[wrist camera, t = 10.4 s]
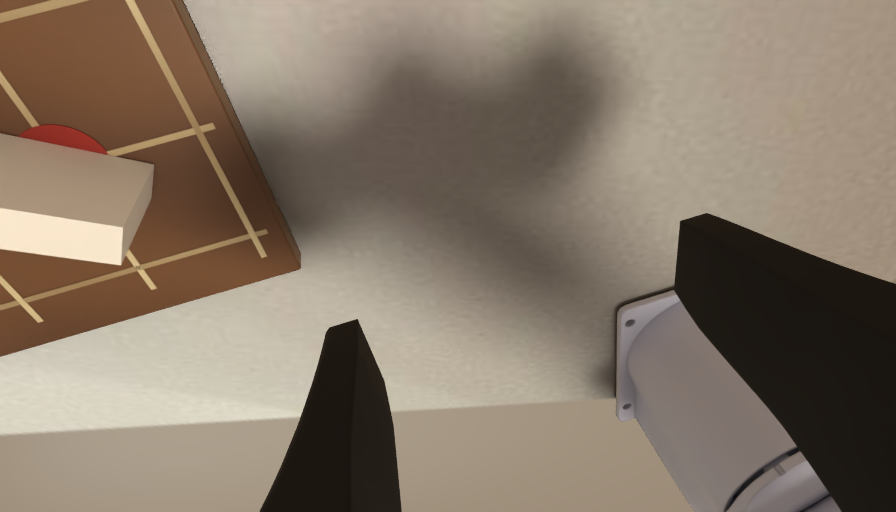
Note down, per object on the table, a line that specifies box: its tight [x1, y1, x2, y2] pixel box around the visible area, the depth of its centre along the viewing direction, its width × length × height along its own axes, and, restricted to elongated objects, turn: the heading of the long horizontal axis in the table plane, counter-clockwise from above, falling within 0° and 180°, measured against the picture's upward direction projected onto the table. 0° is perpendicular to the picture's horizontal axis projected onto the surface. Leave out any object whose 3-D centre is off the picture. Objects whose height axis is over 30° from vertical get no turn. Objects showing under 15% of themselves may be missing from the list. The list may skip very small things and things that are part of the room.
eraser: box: [0, 133, 154, 265], centre depth 14 cm, size 1×5×4 cm, turn 69°
